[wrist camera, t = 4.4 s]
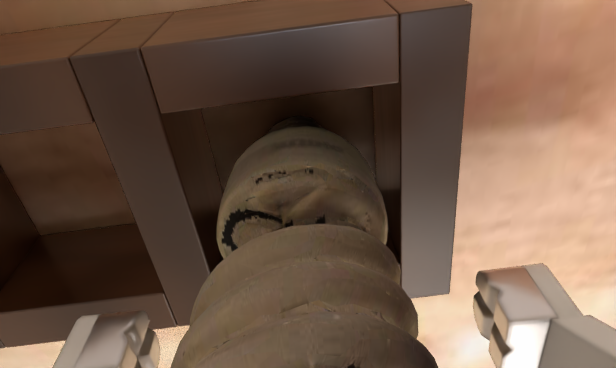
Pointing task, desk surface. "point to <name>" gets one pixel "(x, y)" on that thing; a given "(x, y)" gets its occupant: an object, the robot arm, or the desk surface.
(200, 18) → the stand
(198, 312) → the light bulb
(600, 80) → the desk surface
